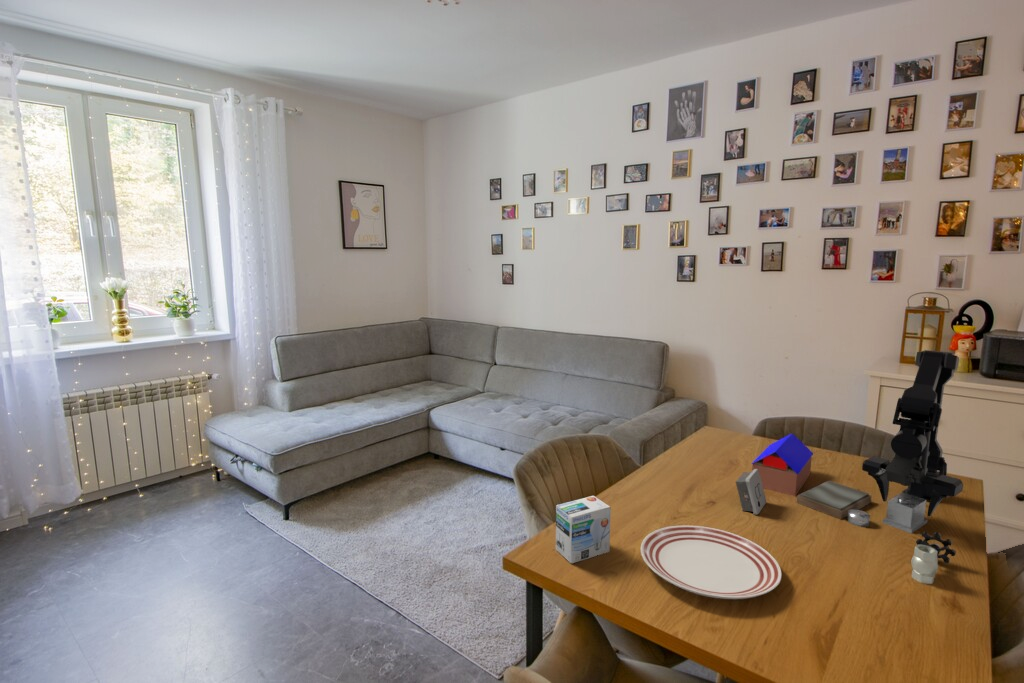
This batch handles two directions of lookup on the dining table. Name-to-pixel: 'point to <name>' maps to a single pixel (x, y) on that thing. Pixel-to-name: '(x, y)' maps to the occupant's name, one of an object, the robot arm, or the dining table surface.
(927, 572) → the valve
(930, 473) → the robot arm
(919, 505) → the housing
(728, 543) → the dinner plate
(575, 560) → the white box
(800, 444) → the house
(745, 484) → the electrical switch
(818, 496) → the stand
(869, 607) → the dining table surface
